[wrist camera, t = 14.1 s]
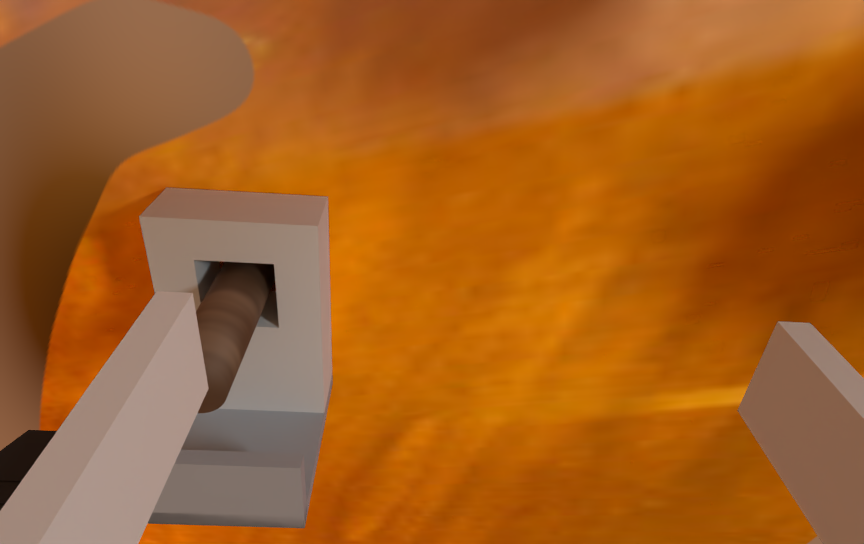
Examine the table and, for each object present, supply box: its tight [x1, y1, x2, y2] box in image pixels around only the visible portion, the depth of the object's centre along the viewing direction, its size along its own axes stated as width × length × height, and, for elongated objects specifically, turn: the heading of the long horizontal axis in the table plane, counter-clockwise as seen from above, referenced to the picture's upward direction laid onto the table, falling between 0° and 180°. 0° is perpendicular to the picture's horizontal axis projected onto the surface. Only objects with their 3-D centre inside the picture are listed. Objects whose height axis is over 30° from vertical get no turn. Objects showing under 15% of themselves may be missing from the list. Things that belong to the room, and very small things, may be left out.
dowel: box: [196, 262, 275, 413], centre depth 41 cm, size 4×4×15 cm
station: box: [139, 187, 332, 528], centre depth 43 cm, size 19×12×15 cm, turn 176°
